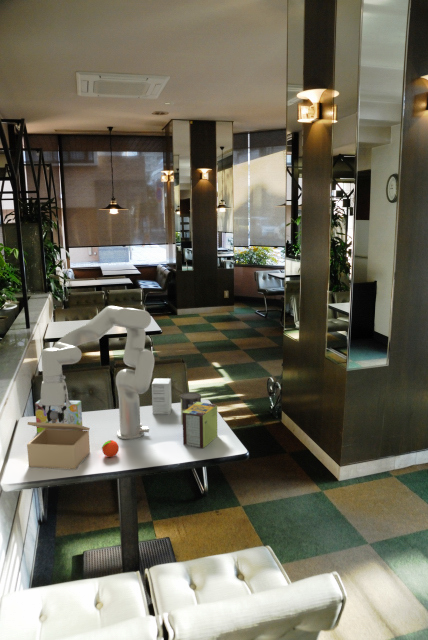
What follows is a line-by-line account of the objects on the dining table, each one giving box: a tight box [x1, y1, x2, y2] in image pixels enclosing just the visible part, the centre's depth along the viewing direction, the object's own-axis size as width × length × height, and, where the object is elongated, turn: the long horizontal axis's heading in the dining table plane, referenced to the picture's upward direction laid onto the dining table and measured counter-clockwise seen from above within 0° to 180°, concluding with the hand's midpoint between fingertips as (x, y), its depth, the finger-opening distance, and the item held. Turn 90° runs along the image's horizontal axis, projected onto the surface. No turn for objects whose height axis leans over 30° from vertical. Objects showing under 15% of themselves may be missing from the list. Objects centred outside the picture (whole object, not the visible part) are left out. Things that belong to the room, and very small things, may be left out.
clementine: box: [101, 439, 120, 458], centre depth 217 cm, size 8×7×7 cm
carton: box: [26, 429, 91, 470], centre depth 214 cm, size 20×16×10 cm
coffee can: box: [180, 391, 202, 425], centre depth 254 cm, size 10×10×14 cm
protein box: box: [182, 401, 218, 449], centre depth 232 cm, size 10×15×16 cm
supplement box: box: [151, 377, 173, 415], centre depth 270 cm, size 10×9×17 cm
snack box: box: [34, 399, 83, 434], centre depth 244 cm, size 21×6×15 cm, turn 84°
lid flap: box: [27, 410, 90, 431], centre depth 215 cm, size 20×16×6 cm
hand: (55, 420), depth 210 cm, fingers closed on lid flap, 4 cm apart
